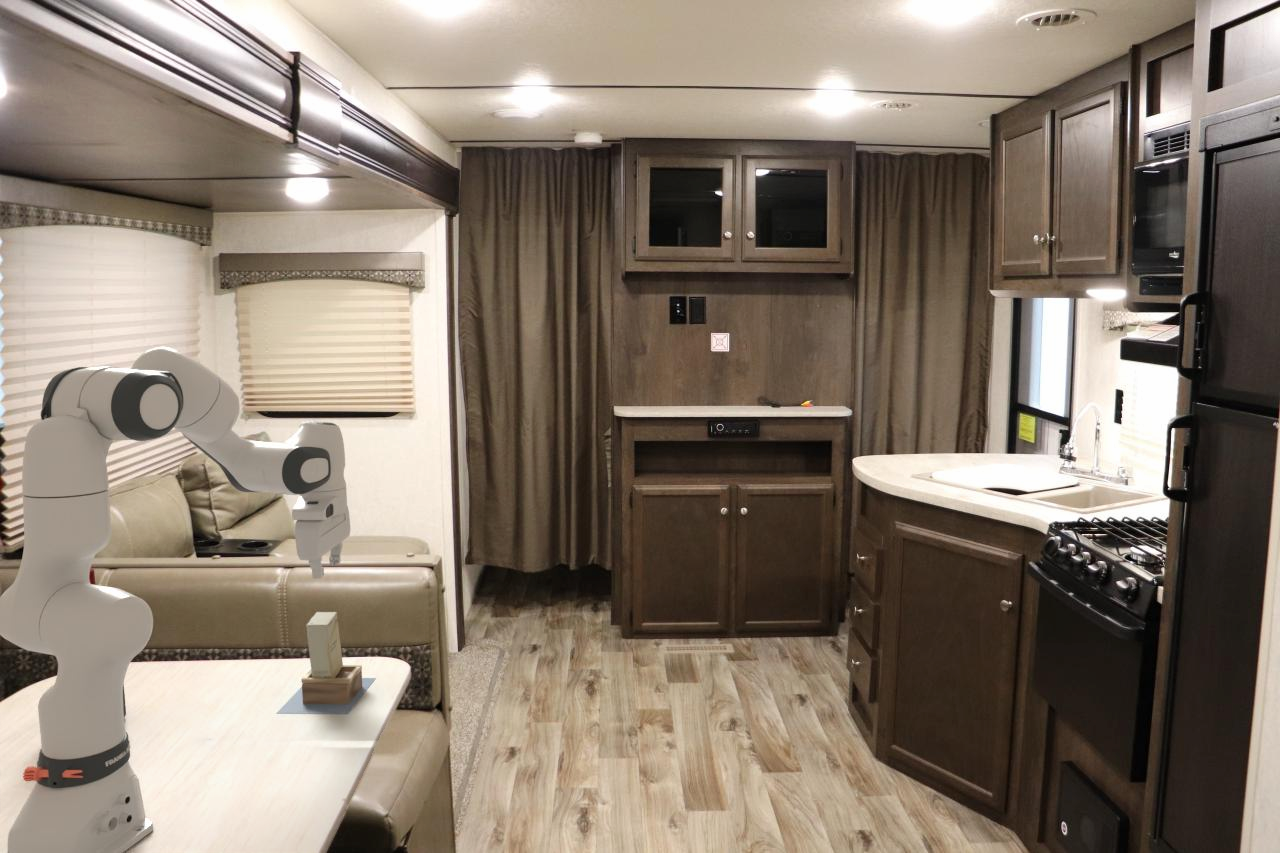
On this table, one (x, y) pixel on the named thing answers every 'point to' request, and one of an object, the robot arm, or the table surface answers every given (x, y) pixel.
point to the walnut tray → (332, 686)
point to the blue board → (298, 707)
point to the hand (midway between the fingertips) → (326, 570)
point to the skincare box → (324, 645)
